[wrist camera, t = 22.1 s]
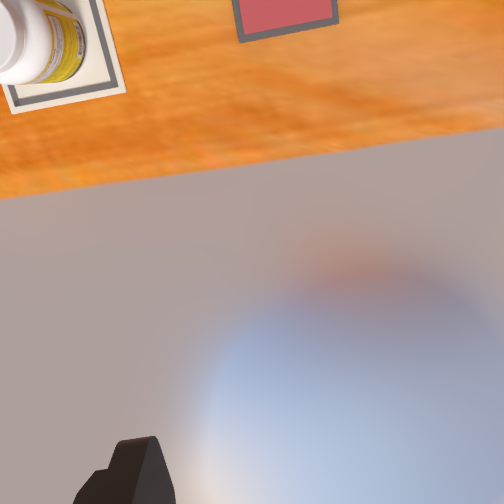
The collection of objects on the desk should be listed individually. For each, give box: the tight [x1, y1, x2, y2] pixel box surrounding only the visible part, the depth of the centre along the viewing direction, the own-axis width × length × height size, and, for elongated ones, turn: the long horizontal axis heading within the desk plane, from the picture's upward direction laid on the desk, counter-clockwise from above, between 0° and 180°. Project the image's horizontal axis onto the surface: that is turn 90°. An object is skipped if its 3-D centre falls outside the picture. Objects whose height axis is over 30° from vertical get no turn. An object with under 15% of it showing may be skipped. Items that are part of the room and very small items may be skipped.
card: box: [2, 0, 127, 114], centre depth 37 cm, size 10×10×1 cm
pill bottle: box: [0, 0, 88, 85], centre depth 31 cm, size 6×6×11 cm
